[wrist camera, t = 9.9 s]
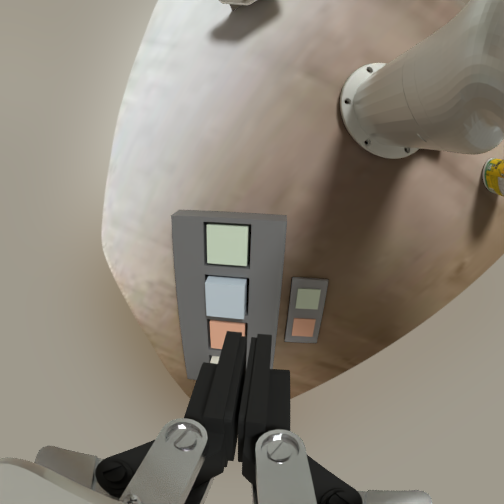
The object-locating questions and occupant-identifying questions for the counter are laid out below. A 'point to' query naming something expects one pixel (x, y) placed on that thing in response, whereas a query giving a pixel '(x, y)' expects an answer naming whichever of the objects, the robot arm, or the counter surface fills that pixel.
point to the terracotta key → (224, 331)
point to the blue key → (226, 296)
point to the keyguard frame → (197, 271)
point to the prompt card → (305, 309)
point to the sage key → (228, 243)
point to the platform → (237, 3)
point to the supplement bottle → (494, 176)
